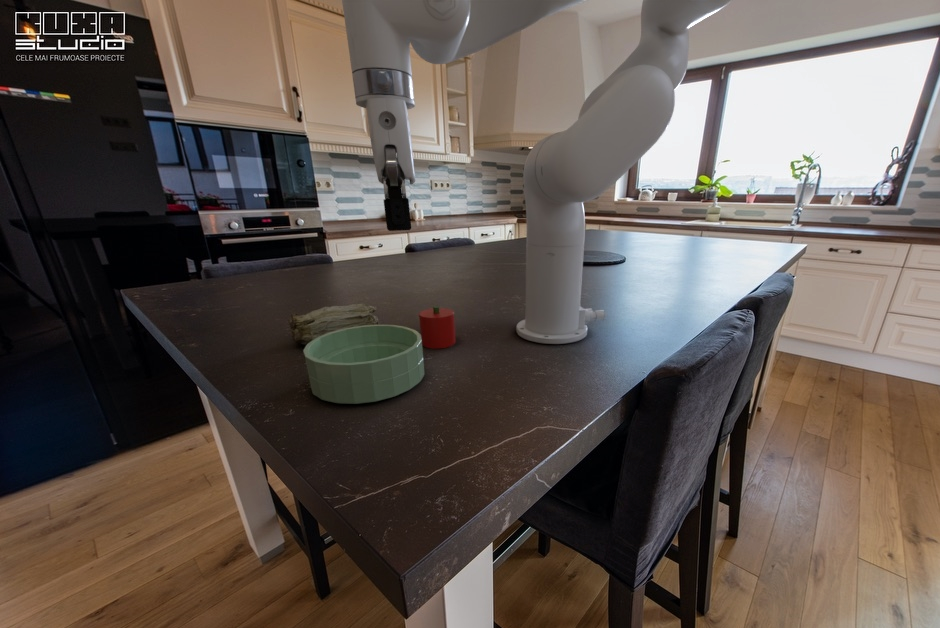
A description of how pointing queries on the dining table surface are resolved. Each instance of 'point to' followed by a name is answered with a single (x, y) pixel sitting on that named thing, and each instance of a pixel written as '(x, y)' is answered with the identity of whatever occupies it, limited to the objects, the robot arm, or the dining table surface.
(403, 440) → the dining table surface
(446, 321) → the red squat cylinder
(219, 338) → the dining table surface
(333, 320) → the olive rough flat block
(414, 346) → the sage green round tray
